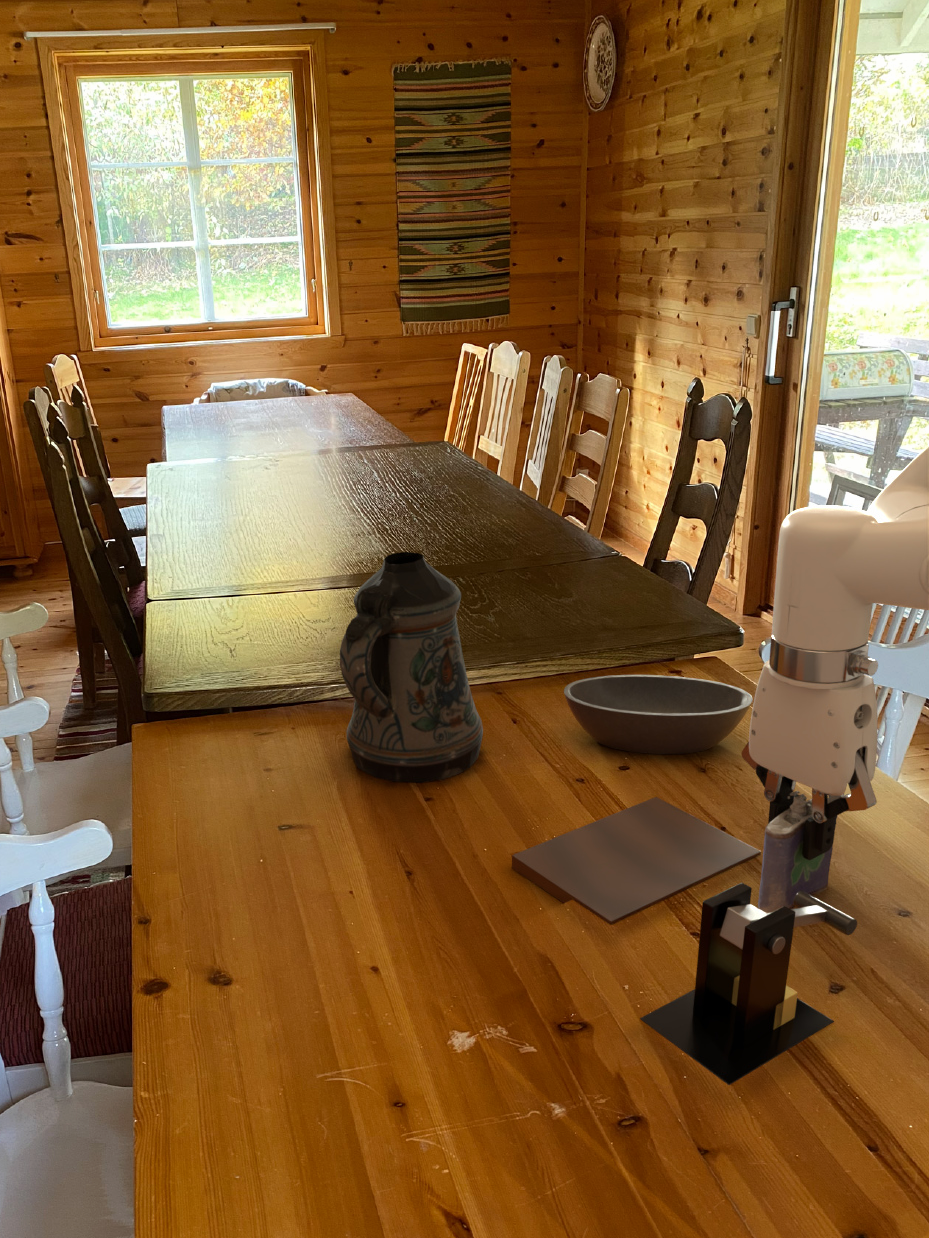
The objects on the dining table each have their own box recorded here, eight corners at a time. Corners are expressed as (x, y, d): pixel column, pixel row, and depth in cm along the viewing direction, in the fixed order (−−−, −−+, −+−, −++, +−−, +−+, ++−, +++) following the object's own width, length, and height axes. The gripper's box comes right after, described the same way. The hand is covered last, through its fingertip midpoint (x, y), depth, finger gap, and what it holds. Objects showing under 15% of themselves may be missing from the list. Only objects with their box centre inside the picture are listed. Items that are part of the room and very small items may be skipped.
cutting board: (655, 808, 120) (656, 796, 119) (759, 864, 109) (761, 851, 108) (511, 868, 110) (511, 855, 110) (610, 935, 99) (611, 921, 99)
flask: (774, 924, 98) (784, 818, 94) (746, 910, 100) (755, 806, 96) (835, 885, 103) (847, 784, 99) (807, 873, 105) (817, 773, 101)
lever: (799, 910, 91) (807, 884, 91) (852, 940, 88) (861, 913, 87) (704, 927, 85) (712, 898, 84) (757, 959, 81) (766, 930, 80)
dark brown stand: (741, 974, 93) (754, 855, 89) (832, 1033, 86) (852, 907, 82) (638, 1030, 88) (646, 905, 83) (727, 1098, 81) (742, 966, 76)
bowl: (565, 716, 143) (566, 671, 140) (743, 724, 138) (747, 678, 136) (559, 758, 132) (560, 710, 129) (752, 768, 127) (757, 719, 125)
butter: (743, 985, 90) (746, 960, 89) (794, 1018, 86) (798, 992, 85) (721, 997, 89) (724, 971, 88) (772, 1031, 85) (775, 1005, 84)
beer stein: (485, 725, 141) (484, 535, 131) (478, 799, 124) (476, 586, 114) (358, 723, 143) (348, 536, 134) (333, 795, 126) (319, 586, 116)
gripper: (935, 672, 88) (907, 870, 95) (767, 622, 100) (753, 799, 108) (876, 697, 84) (852, 900, 91) (710, 642, 97) (699, 823, 104)
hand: (799, 844), depth 99 cm, fingers closed on flask, 3 cm apart
